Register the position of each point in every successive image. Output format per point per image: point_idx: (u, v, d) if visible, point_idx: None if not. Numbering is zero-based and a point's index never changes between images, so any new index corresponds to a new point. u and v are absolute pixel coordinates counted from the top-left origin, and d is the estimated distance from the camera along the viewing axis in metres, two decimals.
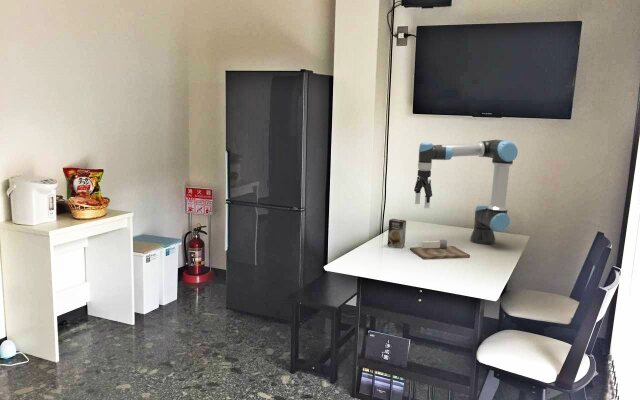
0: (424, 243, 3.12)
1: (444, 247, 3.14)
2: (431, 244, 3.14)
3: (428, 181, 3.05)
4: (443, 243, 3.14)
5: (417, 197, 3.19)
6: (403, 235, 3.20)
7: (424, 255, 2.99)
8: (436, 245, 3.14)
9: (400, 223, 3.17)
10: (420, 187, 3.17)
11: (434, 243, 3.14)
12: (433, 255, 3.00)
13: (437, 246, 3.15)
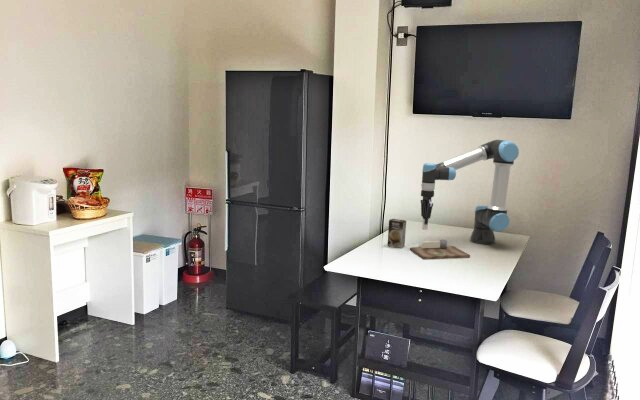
0: (424, 243, 3.12)
1: (444, 247, 3.14)
2: (431, 244, 3.14)
3: (430, 205, 3.10)
4: (443, 243, 3.14)
5: None
6: (403, 235, 3.20)
7: (424, 255, 2.99)
8: (436, 245, 3.14)
9: (400, 223, 3.17)
10: None
11: (434, 243, 3.14)
12: (433, 255, 3.00)
13: (437, 246, 3.15)
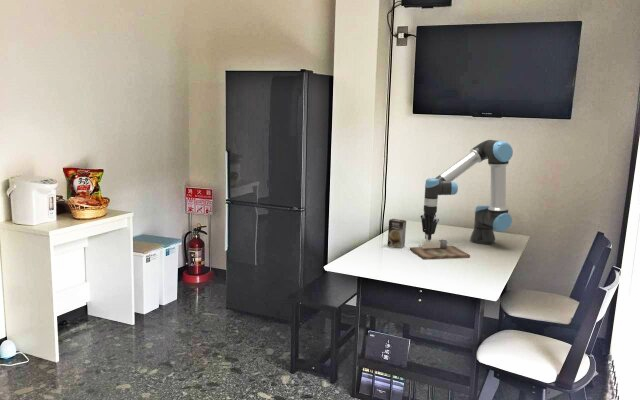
0: (425, 243, 3.12)
1: (444, 247, 3.14)
2: (432, 245, 3.13)
3: (436, 221, 3.07)
4: (443, 243, 3.14)
5: None
6: (403, 235, 3.20)
7: (424, 255, 2.99)
8: (436, 245, 3.14)
9: (400, 223, 3.17)
10: None
11: (434, 243, 3.13)
12: (433, 255, 3.00)
13: (437, 246, 3.14)
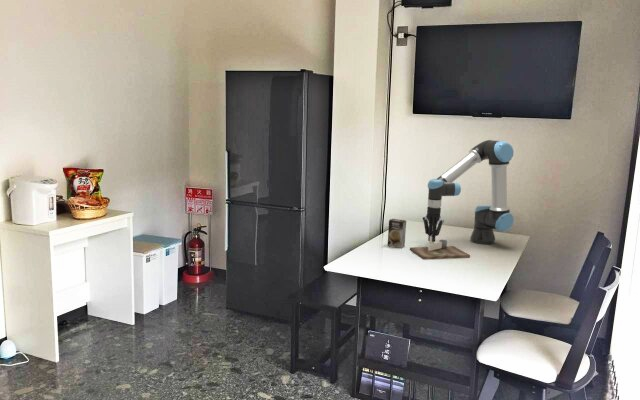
0: (431, 245, 3.07)
1: (445, 247, 3.14)
2: (436, 246, 3.11)
3: (442, 222, 3.05)
4: (445, 243, 3.14)
5: None
6: (403, 235, 3.20)
7: (424, 255, 2.99)
8: (439, 246, 3.13)
9: (400, 223, 3.17)
10: (431, 226, 3.10)
11: (437, 244, 3.11)
12: (433, 255, 3.00)
13: (439, 247, 3.13)
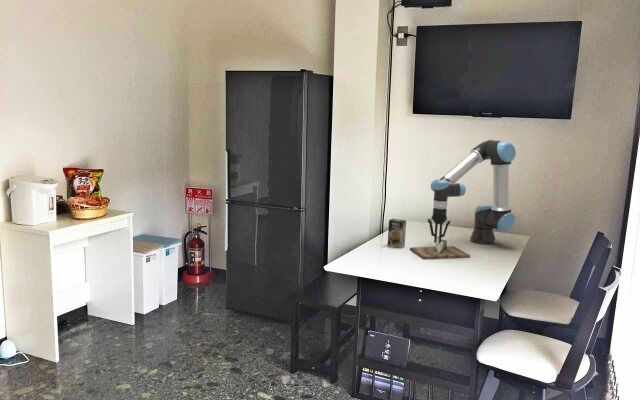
0: (440, 247, 3.05)
1: (446, 247, 3.15)
2: (441, 247, 3.09)
3: (449, 223, 3.04)
4: (446, 243, 3.14)
5: None
6: (403, 235, 3.20)
7: (424, 255, 2.99)
8: (442, 246, 3.12)
9: (400, 223, 3.17)
10: (437, 228, 3.07)
11: (442, 245, 3.10)
12: (433, 255, 3.00)
13: (442, 247, 3.12)
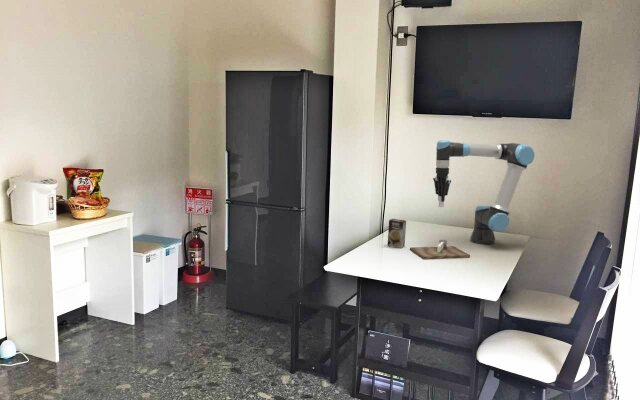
0: (440, 247, 3.05)
1: (446, 247, 3.15)
2: (441, 247, 3.09)
3: (449, 182, 3.10)
4: (446, 243, 3.14)
5: None
6: (403, 235, 3.20)
7: (424, 255, 2.99)
8: (442, 246, 3.12)
9: (400, 223, 3.17)
10: None
11: (442, 245, 3.10)
12: (433, 255, 3.00)
13: (442, 247, 3.12)
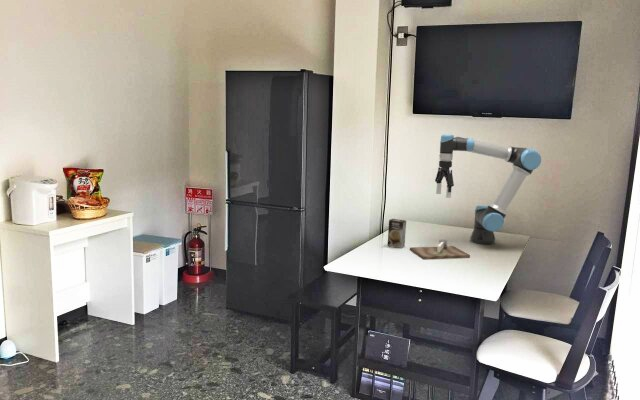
0: (440, 247, 3.05)
1: (446, 247, 3.15)
2: (441, 247, 3.09)
3: (450, 171, 3.14)
4: (446, 243, 3.14)
5: (438, 187, 3.29)
6: (403, 235, 3.20)
7: (424, 255, 2.99)
8: (442, 246, 3.12)
9: (400, 223, 3.17)
10: (441, 177, 3.26)
11: (442, 245, 3.10)
12: (433, 255, 3.00)
13: (442, 247, 3.12)
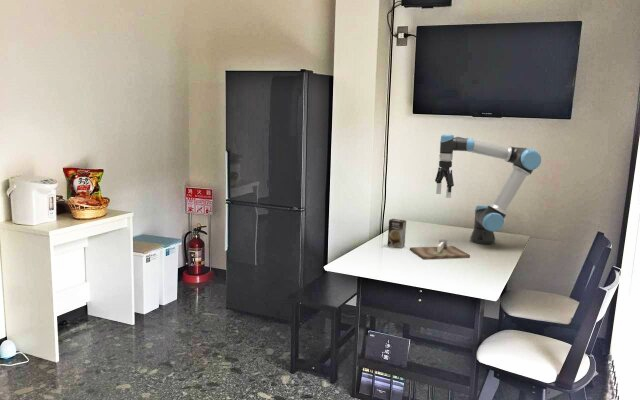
0: (440, 247, 3.05)
1: (446, 247, 3.15)
2: (441, 247, 3.09)
3: (450, 171, 3.14)
4: (446, 243, 3.14)
5: (438, 187, 3.29)
6: (403, 235, 3.20)
7: (424, 255, 2.99)
8: (442, 246, 3.12)
9: (400, 223, 3.17)
10: (441, 177, 3.26)
11: (442, 245, 3.10)
12: (433, 255, 3.00)
13: (442, 247, 3.12)
